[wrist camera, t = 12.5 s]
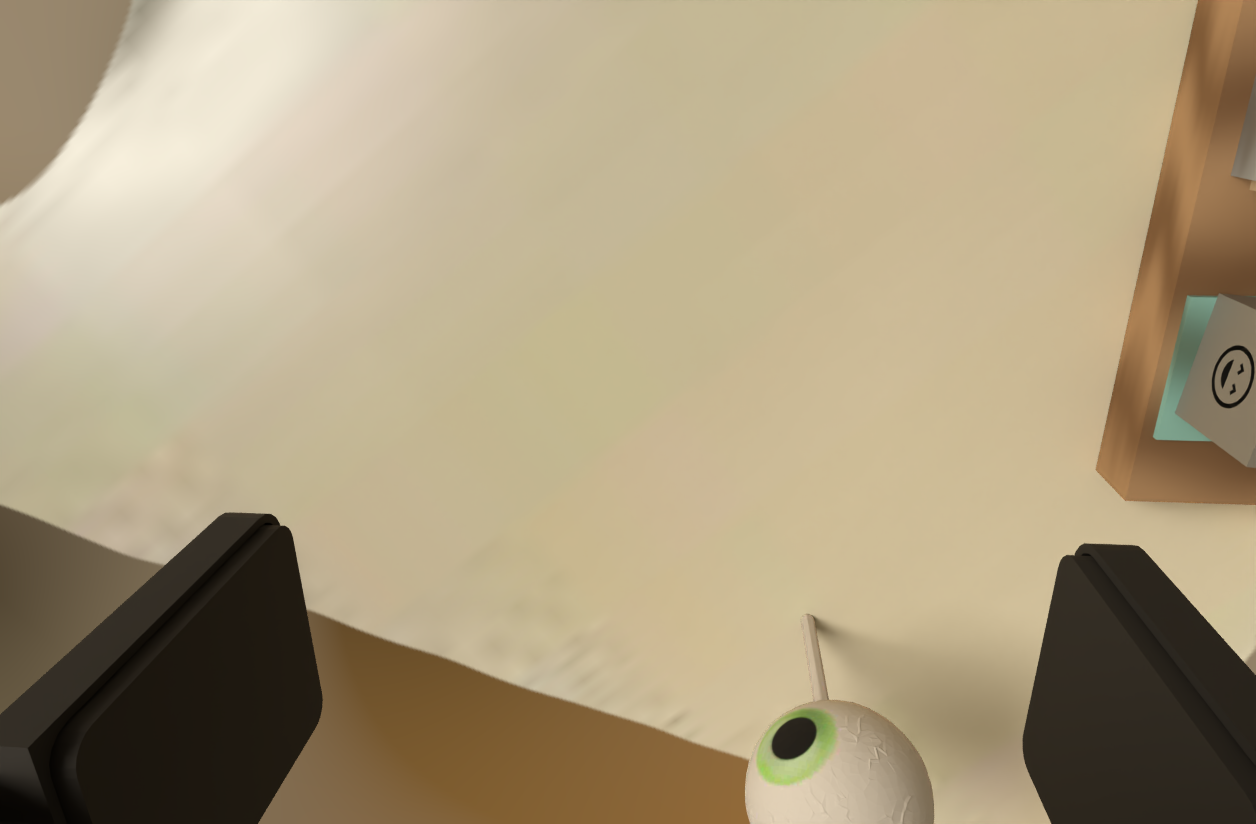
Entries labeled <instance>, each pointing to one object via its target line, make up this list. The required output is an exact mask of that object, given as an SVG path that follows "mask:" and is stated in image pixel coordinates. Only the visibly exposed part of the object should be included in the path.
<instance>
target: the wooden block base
mask: <svg viewBox="0 0 1256 824" xmlns="http://www.w3.org/2000/svg"><path fill="white" fill-rule="evenodd" d="M1219 293H1221V294H1230V295H1239V296H1249V297H1256V0H1198V4H1197V8H1196V13H1195V18H1194V22H1193V27H1192V31H1191V36H1190V40H1189V45H1188V50H1187V54H1186V59H1185V63H1184V68H1183V73H1182V77H1181V82H1180V86H1179V91H1178V95H1177V100H1176V105H1175V109H1174V114H1173V118H1172V123H1171V128H1170V132H1169V137H1168V141H1167V146H1166V150H1165V155H1164V160H1163V164H1162V169H1161V173H1160V178H1159V183H1158V187H1157V192H1156V196H1155V201H1154V205H1153V210H1152V215H1151V219H1150V224H1149V228H1148V233H1147V238H1146V242H1145V247H1144V251H1143V256H1142V260H1141V265H1140V270H1139V274H1138V279H1137V283H1136V288H1135V293H1134V297H1133V302H1132V306H1131V311H1130V315H1129V320H1128V325H1127V329H1126V334H1125V338H1124V343H1123V348H1122V352H1121V357H1120V361H1119V366H1118V370H1117V375H1116V380H1115V384H1114V389H1113V393H1112V398H1111V403H1110V407H1109V412H1108V416H1107V421H1106V425H1105V430H1104V435H1103V439H1102V444H1101V448H1100V453H1099V458H1098V462H1097V467H1096V471H1097V472H1098V473H1099V474H1100V475H1101V476H1102V477H1103V478H1104V479H1105V480H1106V481H1107V482H1108V483H1109V484H1110V485H1111V486H1112V487H1113V488H1114V490H1115V491H1116V492H1117V493H1118V494H1119V495H1120V496H1121V497H1122V498H1123V499H1124V500H1125V501H1153V502H1184V503H1216V504H1247V505H1256V468H1251V467H1246V466H1245V465H1243V464H1242V463H1241V462H1239V461H1238V460H1237V459H1235V458H1234V457H1233V456H1231V455H1230V454H1229V453H1227V452H1226V451H1225V450H1223V449H1222V448H1221V447H1219V446H1218V445H1216V444H1215V443H1214V442H1212V441H1211V440H1210V439H1208V438H1207V437H1206V436H1204V435H1203V434H1202V433H1200V432H1199V431H1198V430H1196V429H1195V428H1194V427H1192V426H1191V425H1190V424H1188V423H1187V422H1186V421H1184V420H1183V419H1182V418H1180V417H1179V416H1178V415H1176V414H1175V411H1176V408H1177V405H1178V403H1179V400H1180V397H1181V395H1182V392H1183V389H1184V386H1185V384H1186V381H1187V378H1188V376H1189V373H1190V370H1191V367H1192V365H1193V362H1194V359H1195V357H1196V354H1197V351H1198V349H1199V346H1200V343H1201V340H1202V338H1203V335H1204V332H1205V330H1206V327H1207V324H1208V321H1209V319H1210V316H1211V313H1212V311H1213V308H1214V305H1215V302H1216V300H1217V297H1218V294H1219Z"/></svg>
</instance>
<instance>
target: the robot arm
mask: <svg viewBox="0 0 1256 824" xmlns="http://www.w3.org/2000/svg"><path fill="white" fill-rule="evenodd" d="M322 701H323V700H322V691H321V686H320V680H319V675H318V670H317V664H316V659H315V654H314V648H313V643H312V638H311V632H310V627H309V621H308V616H307V611H306V605H305V600H304V595H303V589H302V584H301V579H300V573H299V568H298V562H297V557H296V552H295V546H294V541H293V537H292V533H291V531H290V530H289V528H288V527H286V526H280V523H279V522H278V520H277V518H276V517H275V516H273V515H271V514H256V513H224V514H222V515H221V516H219V517H218V518H217V519H216V520H215V521H213V522H212V523H211V524H210V525H209V526H208V527H207V528H206V529H205V530H204V531H202V532H201V533H200V534H199V535H198V536H197V537H196V538H195V539H194V540H192V541H191V542H190V543H189V544H188V545H187V546H186V547H185V548H184V549H183V550H181V551H180V552H179V553H178V554H177V555H176V556H175V557H174V558H173V559H171V560H170V561H169V562H168V563H167V564H166V565H165V566H164V567H163V568H162V569H160V570H159V571H158V572H157V573H156V574H155V575H154V576H153V577H152V578H150V580H148V581H147V582H146V583H145V584H144V585H143V586H142V587H141V588H140V589H138V590H137V591H136V592H135V593H134V594H133V595H132V596H131V597H130V598H128V599H127V600H126V601H125V602H124V603H123V604H122V605H121V606H120V607H118V608H117V609H116V610H115V611H114V612H113V613H112V614H111V615H110V616H109V617H107V618H106V619H105V620H104V621H103V622H102V623H101V624H100V625H99V626H97V627H96V628H95V629H94V630H93V631H92V632H91V633H90V634H89V635H88V636H86V638H84V639H83V640H82V641H81V642H80V643H79V644H78V645H76V646H75V647H74V648H73V649H72V650H71V651H70V652H69V653H68V654H67V655H66V656H64V657H63V658H62V659H61V660H60V661H59V662H58V663H57V664H56V665H54V666H53V667H52V668H51V669H50V670H49V671H48V672H47V673H46V674H44V675H43V676H42V677H41V678H40V679H39V680H38V681H37V682H36V683H35V684H33V685H32V686H31V687H30V688H29V689H28V690H27V691H26V692H25V693H23V694H22V695H21V696H20V697H19V698H18V699H17V700H16V701H15V702H14V703H12V704H11V705H10V706H9V707H8V708H7V709H6V710H5V711H4V712H3V713H1V715H0V824H258V822H259V821H260V819H261V817H262V816H263V814H264V812H265V811H266V809H267V808H268V806H269V804H270V803H271V801H272V799H273V798H274V796H275V794H276V793H277V791H278V789H279V788H280V786H281V784H282V783H283V781H284V779H285V778H286V776H287V774H288V773H289V771H290V769H291V768H292V766H293V764H294V763H295V761H296V759H297V758H298V756H299V755H300V753H301V751H302V750H303V748H304V746H305V744H306V743H307V741H308V740H309V738H310V736H311V735H312V733H313V731H314V730H315V728H316V726H317V724H318V722H319V718H320V715H321V710H322ZM1023 754H1024V760H1025V764H1026V767H1027V770H1028V772H1029V774H1030V777H1031V779H1032V781H1033V783H1034V786H1035V788H1036V790H1037V792H1038V795H1039V797H1040V799H1041V801H1042V803H1043V806H1044V808H1045V810H1046V812H1047V815H1048V817H1049V819H1050V821H1051V824H1256V675H1255V674H1254V673H1253V672H1252V671H1251V670H1250V669H1249V667H1248V666H1247V665H1246V664H1245V663H1244V662H1243V661H1242V660H1241V658H1240V657H1239V656H1238V655H1237V654H1236V653H1235V652H1234V651H1233V649H1232V648H1231V647H1230V646H1229V645H1228V644H1227V643H1226V642H1225V641H1224V639H1223V638H1222V637H1221V636H1220V635H1219V634H1218V633H1217V632H1216V630H1215V629H1214V628H1213V627H1212V626H1211V625H1210V624H1209V623H1208V622H1207V620H1206V619H1205V618H1204V617H1203V616H1202V615H1201V614H1200V613H1199V611H1198V610H1197V609H1196V608H1195V607H1194V606H1193V605H1192V604H1191V602H1190V601H1189V600H1188V599H1187V598H1186V597H1185V596H1184V595H1183V594H1182V592H1181V591H1180V590H1179V589H1178V588H1177V587H1176V586H1175V585H1174V583H1173V582H1172V581H1171V580H1170V579H1169V578H1168V577H1167V576H1166V575H1165V573H1164V572H1163V571H1162V570H1161V569H1160V568H1159V567H1158V566H1157V564H1156V563H1155V562H1154V561H1153V560H1152V559H1151V558H1150V557H1149V555H1148V554H1147V553H1146V552H1145V551H1144V550H1143V549H1141V548H1140V547H1139V546H1134V545H1112V544H1083V545H1081V546H1079V548H1078V549H1077V551H1076V553H1075V556H1074V555H1066V556H1064V557H1063V558H1062V560H1061V561H1060V564H1059V567H1058V571H1057V576H1056V581H1055V585H1054V590H1053V595H1052V600H1051V604H1050V609H1049V614H1048V619H1047V624H1046V628H1045V633H1044V638H1043V643H1042V647H1041V652H1040V657H1039V662H1038V666H1037V671H1036V676H1035V681H1034V686H1033V690H1032V695H1031V700H1030V705H1029V709H1028V714H1027V719H1026V724H1025V728H1024V733H1023Z"/></svg>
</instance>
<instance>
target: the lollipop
mask: <svg viewBox="0 0 1256 824" xmlns="http://www.w3.org/2000/svg"><path fill="white" fill-rule="evenodd" d="M801 624H802V631H803V637H804V643H805V650H806V656H807V662H808V669H809V675H810V681H811V688H812V694H813V700H814V702H810V703H806V704H803V705H800V706H798V707H795V708H794V709H792V710H790V711H788V712H786V713H784V714H783V715H782V716H780V717H779V718H778V719H776V720H774V721H773V722H772V723H771V724H770V725H769V727H768V729H767V730H766V731H765V732H764V734H763V735H762V736H761V738H760V739H759V741H758V742H757V743H756V745H755V747H754V749H753V752H752V755H751V759H750V761H749V766H748V770H747V774H746V785H745V802H746V809H747V814H748V817H749V821H750V824H933V823H934V801H933V792H932V786H931V782H930V779H929V777H928V773H927V770H926V767H925V765H924V762H923V760H922V758H921V757H920V755H919V753H918V751H917V750H916V749H915V747H914V746H913V745H912V743H911V742H910V741H909V740H908V738H907V737H906V736H905V735H904V734H903V733H902V732H901V731H900V730H899V729H898V728H897V727H896V726H895V725H894V724H893V723H891V722H890V721H889V720H887V719H886V718H885V717H883V716H881V715H880V714H878V713H876V712H875V711H873V710H871V709H869V708H867V707H864V706H861V705H858V704H855V703H853V702H847V701H840V700H829V698H828V692H827V687H826V681H825V676H824V670H823V665H822V659H821V654H820V648H819V643H818V637H817V632H816V626H815V621H814V618H813V616H812V615H808V614H806V615H804V616H802V618H801Z"/></svg>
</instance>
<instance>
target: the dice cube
mask: <svg viewBox="0 0 1256 824" xmlns="http://www.w3.org/2000/svg"><path fill="white" fill-rule="evenodd" d="M1175 414H1176V415H1178V416H1179V417H1180V418H1182V419H1183V420H1184V421H1186V422H1187V423H1188V424H1190V425H1191V426H1192V427H1194V428H1195V429H1196V430H1198V431H1199V432H1200V433H1202V434H1203V435H1204V436H1206V437H1207V438H1208V439H1210V440H1211V441H1212V442H1214V443H1215V444H1216V445H1218V446H1219V447H1221V448H1222V449H1223V450H1225V451H1226V452H1227V453H1229V454H1230V455H1231V456H1233V457H1234V458H1235V459H1237V460H1238V461H1239V462H1241V463H1242V464H1243V465H1245V466H1246V467H1251V468H1256V297H1249V296H1239V295H1230V294H1221V293H1219V294H1218V297H1217V300H1216V302H1215V305H1214V308H1213V311H1212V313H1211V316H1210V319H1209V321H1208V324H1207V327H1206V330H1205V332H1204V335H1203V338H1202V340H1201V343H1200V346H1199V349H1198V351H1197V354H1196V357H1195V359H1194V362H1193V365H1192V367H1191V370H1190V373H1189V376H1188V378H1187V381H1186V384H1185V386H1184V389H1183V392H1182V395H1181V397H1180V400H1179V403H1178V405H1177V408H1176V411H1175Z"/></svg>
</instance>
